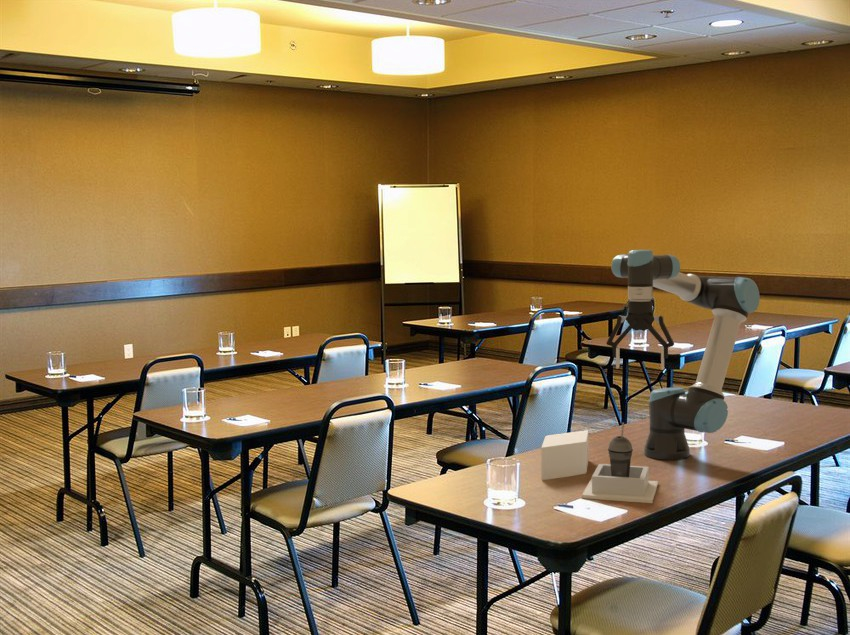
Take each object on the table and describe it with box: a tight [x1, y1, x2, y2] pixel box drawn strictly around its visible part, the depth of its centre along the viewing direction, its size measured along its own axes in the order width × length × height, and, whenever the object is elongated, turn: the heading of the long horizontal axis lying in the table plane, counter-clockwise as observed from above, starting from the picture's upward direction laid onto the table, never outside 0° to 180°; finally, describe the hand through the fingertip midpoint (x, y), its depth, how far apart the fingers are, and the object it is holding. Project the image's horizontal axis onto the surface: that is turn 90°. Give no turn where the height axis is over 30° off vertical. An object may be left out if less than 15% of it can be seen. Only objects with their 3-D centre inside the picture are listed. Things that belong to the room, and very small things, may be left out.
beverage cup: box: [607, 422, 633, 477], centre depth 279 cm, size 7×7×20 cm
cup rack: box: [581, 463, 659, 504], centre depth 280 cm, size 20×20×6 cm
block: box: [540, 429, 589, 481], centre depth 305 cm, size 15×30×11 cm, turn 141°
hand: (640, 368), depth 290 cm, fingers open, 13 cm apart
